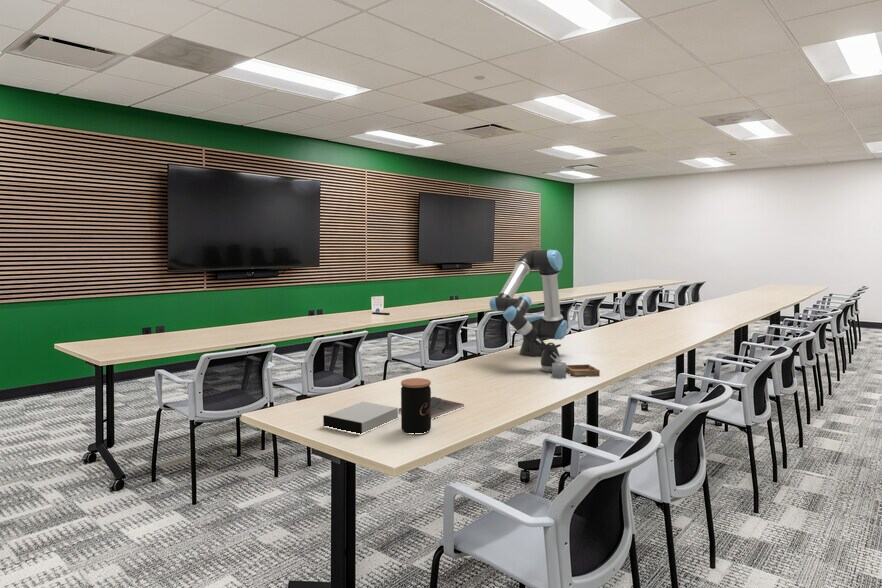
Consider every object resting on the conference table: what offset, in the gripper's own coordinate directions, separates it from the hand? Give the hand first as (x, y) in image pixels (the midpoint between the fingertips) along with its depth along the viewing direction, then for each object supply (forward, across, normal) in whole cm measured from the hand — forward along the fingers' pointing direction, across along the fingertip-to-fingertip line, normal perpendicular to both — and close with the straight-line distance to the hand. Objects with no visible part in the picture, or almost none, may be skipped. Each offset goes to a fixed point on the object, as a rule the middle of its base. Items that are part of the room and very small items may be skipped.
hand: (556, 359), depth 293 cm
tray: (+12, +7, +4) cm, 14 cm away
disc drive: (-67, +73, -76) cm, 124 cm away
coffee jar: (-53, +84, -62) cm, 117 cm away
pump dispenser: (+2, 0, -6) cm, 7 cm away
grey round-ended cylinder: (+2, +13, -6) cm, 15 cm away
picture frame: (-47, +60, -56) cm, 95 cm away
